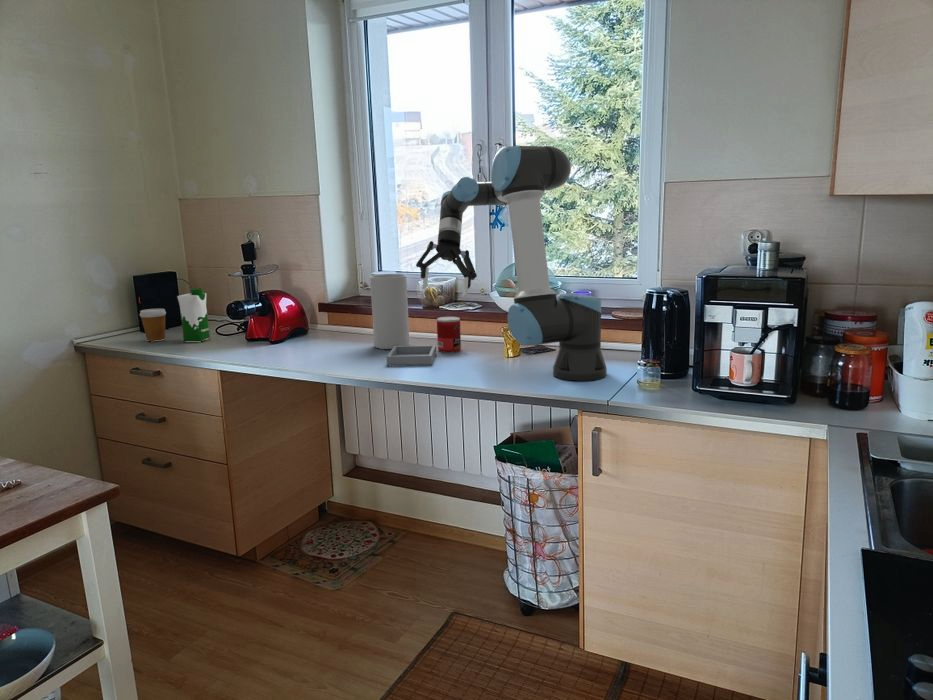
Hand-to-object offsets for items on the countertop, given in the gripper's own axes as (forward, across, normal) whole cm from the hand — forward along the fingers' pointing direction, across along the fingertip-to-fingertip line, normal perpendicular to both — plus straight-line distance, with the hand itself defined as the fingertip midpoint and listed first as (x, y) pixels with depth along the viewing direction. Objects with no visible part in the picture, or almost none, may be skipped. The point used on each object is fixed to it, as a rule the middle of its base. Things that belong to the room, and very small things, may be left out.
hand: (444, 292), depth 221 cm
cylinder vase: (+9, +7, -33) cm, 35 cm away
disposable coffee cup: (+4, +88, -87) cm, 124 cm away
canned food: (+12, -9, -19) cm, 24 cm away
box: (+20, +5, -12) cm, 24 cm away
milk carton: (+4, +73, -78) cm, 107 cm away
